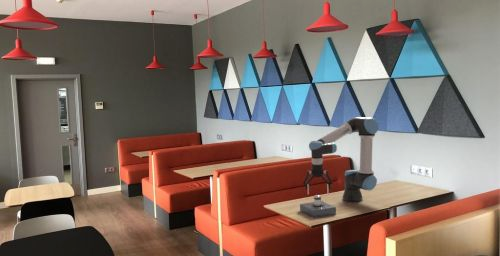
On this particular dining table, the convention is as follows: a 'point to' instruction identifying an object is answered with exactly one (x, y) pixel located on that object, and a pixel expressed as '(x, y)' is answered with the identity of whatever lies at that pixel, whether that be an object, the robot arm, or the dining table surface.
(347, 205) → the dining table surface
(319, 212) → the flange plate
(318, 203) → the silver metal cylinder
